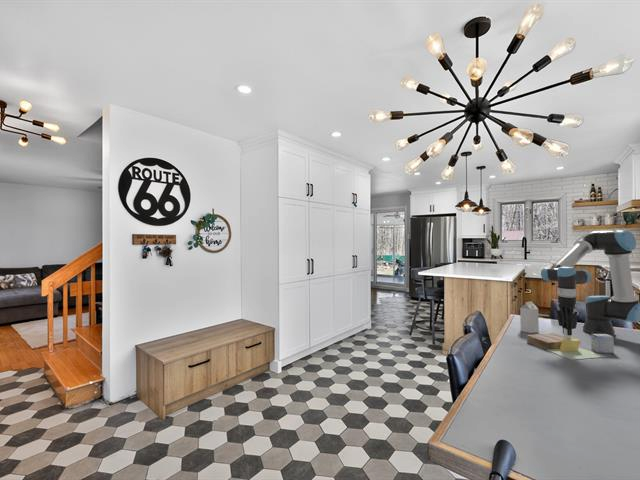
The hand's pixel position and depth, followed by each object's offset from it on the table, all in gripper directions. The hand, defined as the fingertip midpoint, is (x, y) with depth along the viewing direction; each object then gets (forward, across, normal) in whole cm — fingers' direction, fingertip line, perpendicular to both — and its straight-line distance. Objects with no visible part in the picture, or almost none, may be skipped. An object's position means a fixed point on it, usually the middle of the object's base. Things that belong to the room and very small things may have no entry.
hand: (567, 340), depth 166 cm
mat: (+5, +4, 0) cm, 7 cm away
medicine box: (+6, +4, +17) cm, 18 cm away
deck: (+5, -10, 0) cm, 11 cm away
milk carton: (+6, -35, +9) cm, 36 cm away
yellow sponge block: (+2, 0, 0) cm, 2 cm away
